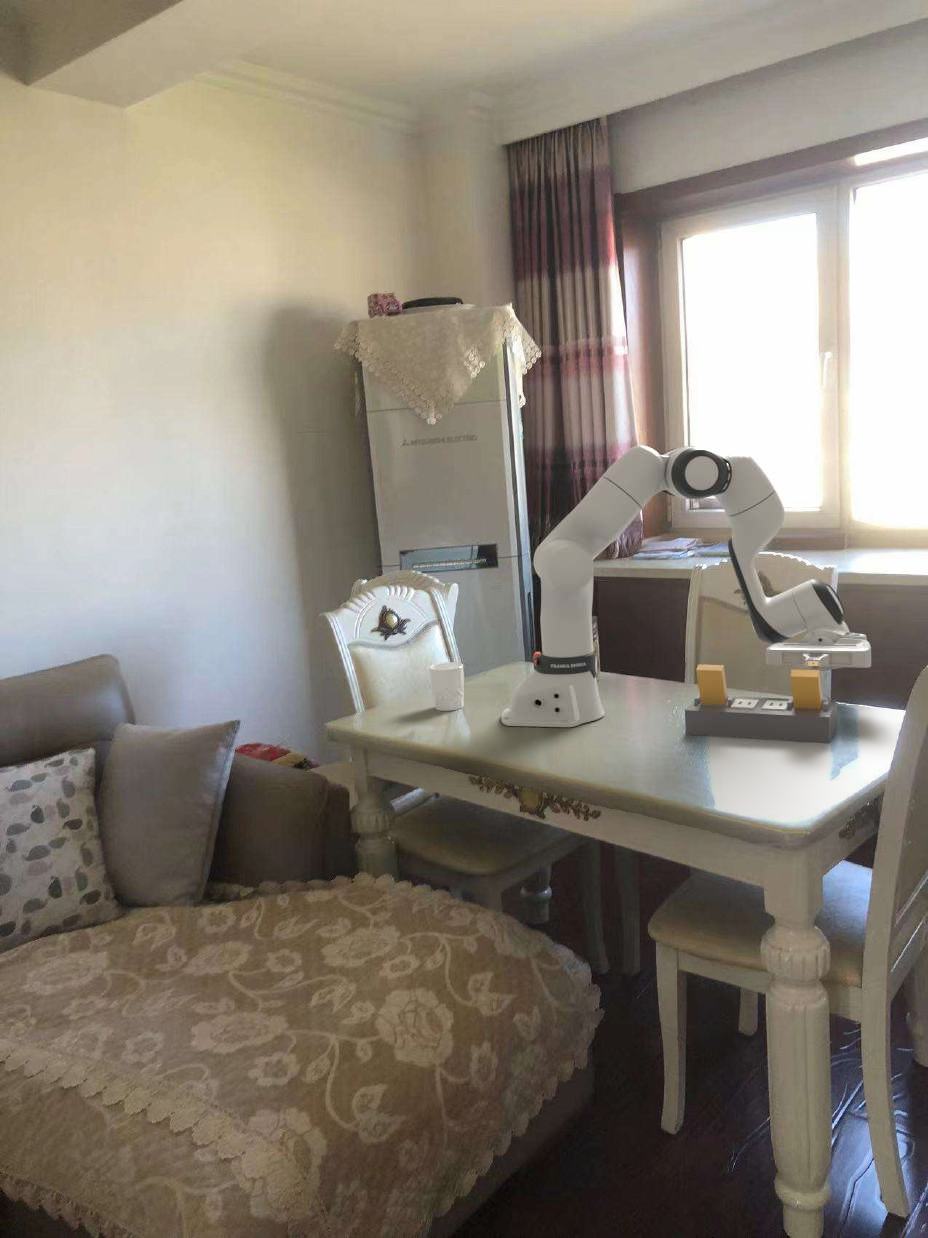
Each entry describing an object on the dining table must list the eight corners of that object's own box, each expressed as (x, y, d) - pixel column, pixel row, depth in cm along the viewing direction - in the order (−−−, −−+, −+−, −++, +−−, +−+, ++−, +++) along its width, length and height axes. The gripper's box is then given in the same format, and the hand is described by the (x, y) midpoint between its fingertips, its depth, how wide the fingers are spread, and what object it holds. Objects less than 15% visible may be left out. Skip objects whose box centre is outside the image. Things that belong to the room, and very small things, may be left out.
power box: (685, 734, 197) (684, 704, 196) (700, 718, 208) (699, 689, 207) (829, 743, 185) (829, 710, 184) (837, 725, 196) (836, 694, 195)
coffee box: (594, 687, 241) (590, 622, 238) (568, 687, 243) (564, 622, 240) (601, 678, 249) (598, 615, 247) (576, 678, 251) (572, 615, 249)
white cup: (430, 712, 229) (426, 670, 228) (435, 703, 237) (432, 663, 235) (464, 711, 228) (461, 668, 227) (468, 702, 236) (465, 661, 234)
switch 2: (794, 707, 192) (790, 676, 188) (795, 701, 193) (791, 669, 189) (821, 709, 190) (818, 677, 185) (822, 702, 191) (819, 670, 187)
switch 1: (700, 703, 200) (696, 669, 197) (703, 697, 202) (698, 664, 198) (726, 704, 198) (721, 670, 194) (727, 698, 199) (723, 665, 196)
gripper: (771, 633, 212) (758, 647, 200) (874, 634, 203) (867, 648, 191) (771, 662, 213) (759, 677, 201) (874, 664, 204) (868, 680, 192)
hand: (813, 663), depth 196 cm, fingers closed
